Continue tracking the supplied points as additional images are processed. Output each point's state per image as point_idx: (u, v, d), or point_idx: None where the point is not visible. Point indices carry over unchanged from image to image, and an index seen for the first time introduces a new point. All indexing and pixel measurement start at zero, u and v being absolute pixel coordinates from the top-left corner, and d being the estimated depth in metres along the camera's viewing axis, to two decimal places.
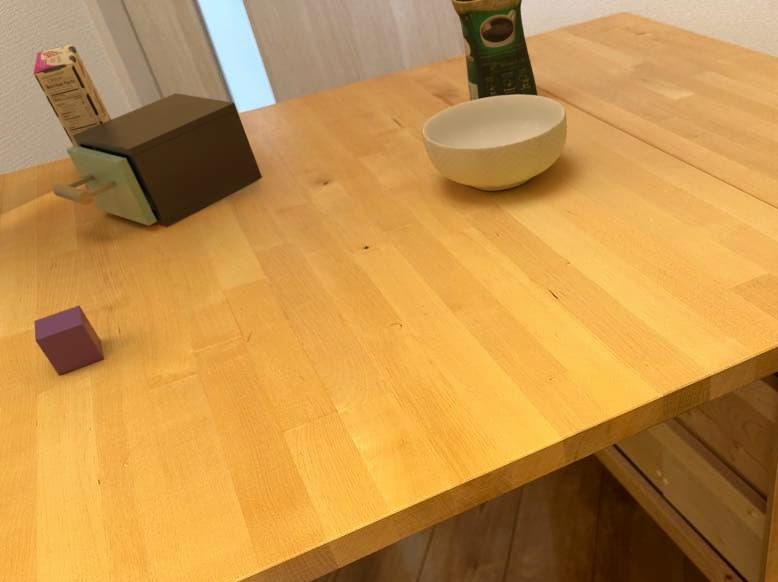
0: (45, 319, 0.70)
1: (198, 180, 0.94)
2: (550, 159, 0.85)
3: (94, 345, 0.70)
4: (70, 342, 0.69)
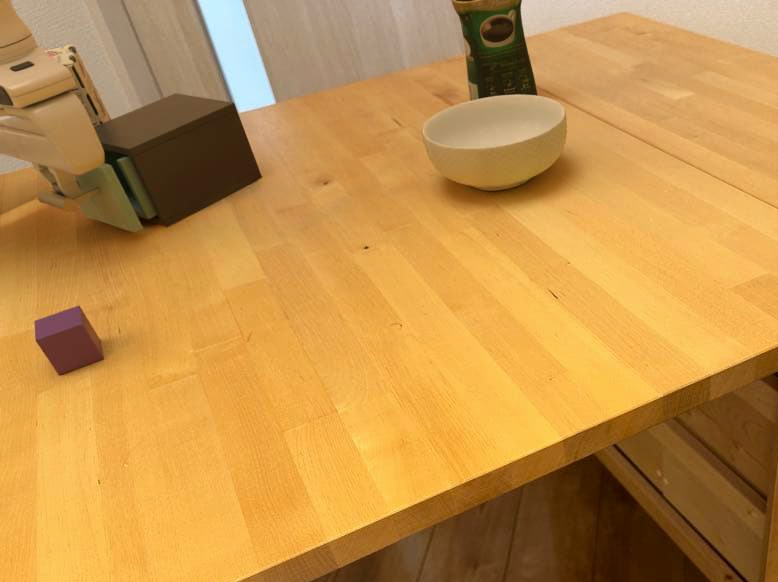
0: (45, 319, 0.70)
1: (198, 180, 0.94)
2: (550, 159, 0.85)
3: (94, 345, 0.70)
4: (70, 342, 0.69)
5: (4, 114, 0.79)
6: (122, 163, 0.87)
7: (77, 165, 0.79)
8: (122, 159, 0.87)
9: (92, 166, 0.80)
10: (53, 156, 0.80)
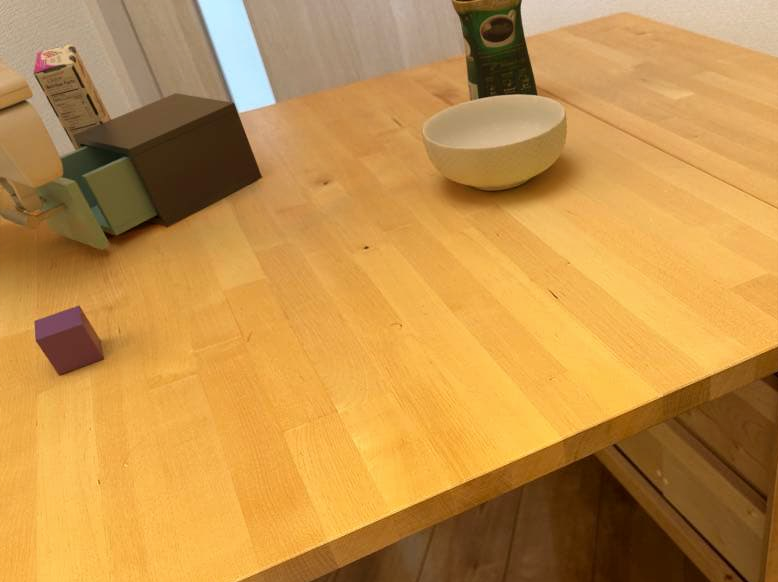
0: (45, 319, 0.70)
1: (198, 180, 0.94)
2: (550, 159, 0.85)
3: (94, 345, 0.70)
4: (70, 342, 0.69)
5: None
6: (87, 179, 0.85)
7: (33, 178, 0.76)
8: (87, 175, 0.85)
9: (49, 179, 0.78)
10: (9, 168, 0.77)
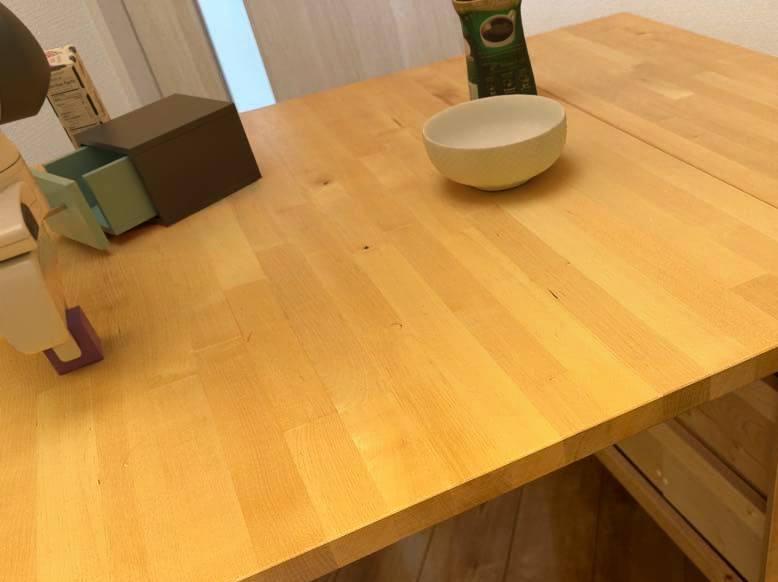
0: None
1: (198, 180, 0.94)
2: (550, 159, 0.85)
3: (94, 345, 0.70)
4: None
5: None
6: (87, 179, 0.85)
7: (20, 348, 0.60)
8: (87, 175, 0.85)
9: (44, 347, 0.61)
10: None
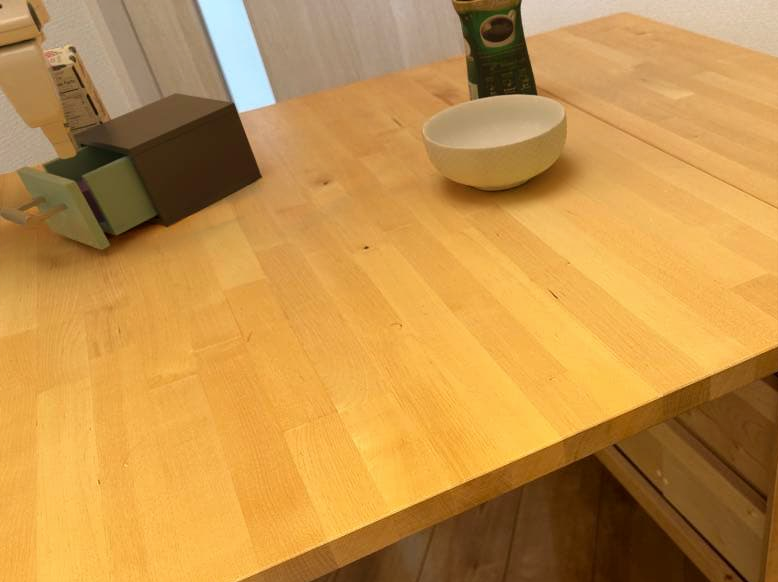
0: (79, 182, 0.90)
1: (198, 180, 0.94)
2: (550, 159, 0.85)
3: None
4: None
5: None
6: (87, 179, 0.85)
7: (26, 119, 0.75)
8: (87, 175, 0.85)
9: (45, 122, 0.77)
10: None
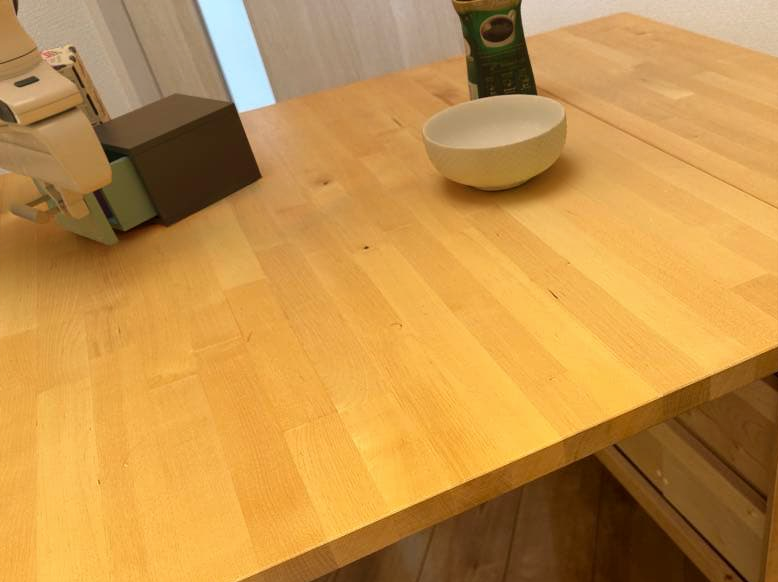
0: None
1: (198, 180, 0.94)
2: (550, 159, 0.85)
3: None
4: None
5: (8, 131, 0.76)
6: None
7: (83, 185, 0.76)
8: None
9: (99, 185, 0.77)
10: (59, 174, 0.77)
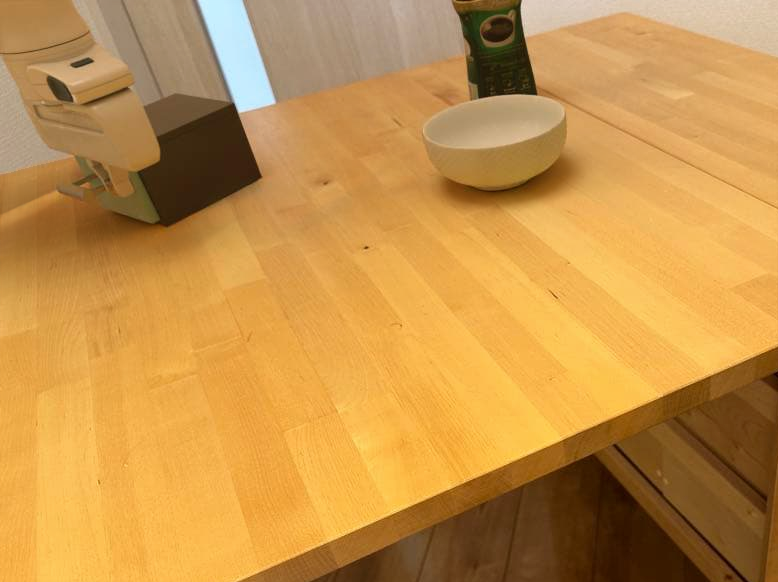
0: None
1: (198, 180, 0.94)
2: (550, 159, 0.85)
3: None
4: None
5: (62, 110, 0.79)
6: None
7: (134, 162, 0.79)
8: None
9: (148, 163, 0.80)
10: (110, 153, 0.80)
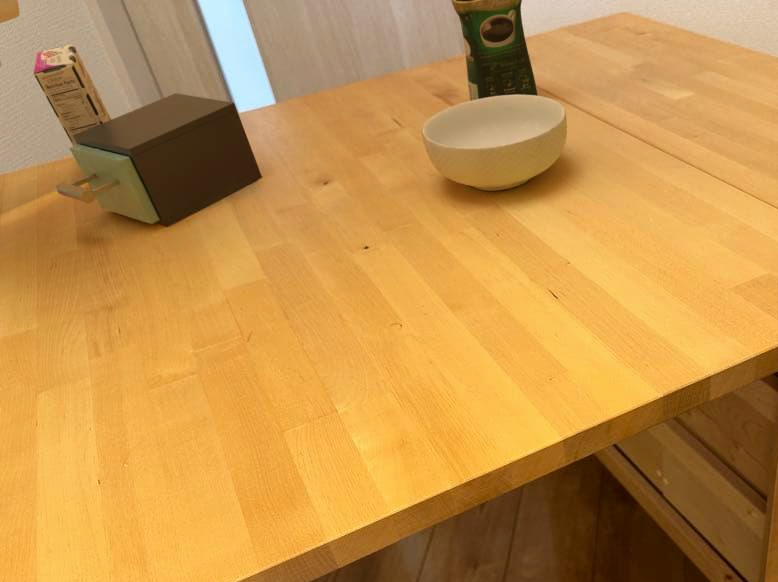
0: None
1: (198, 180, 0.94)
2: (550, 159, 0.85)
3: None
4: None
5: None
6: None
7: None
8: None
9: (2, 17, 0.67)
10: None
